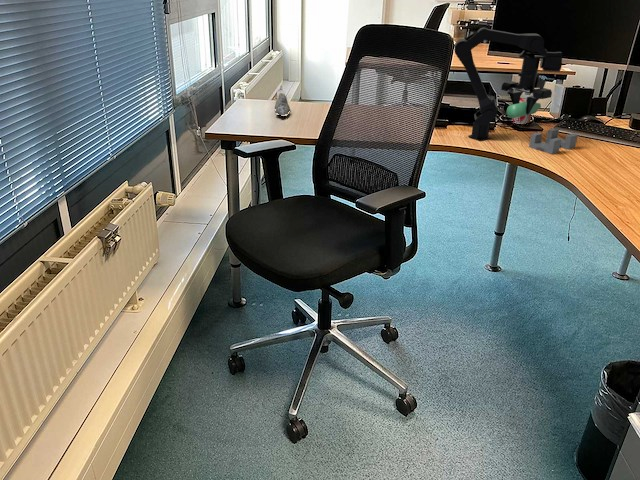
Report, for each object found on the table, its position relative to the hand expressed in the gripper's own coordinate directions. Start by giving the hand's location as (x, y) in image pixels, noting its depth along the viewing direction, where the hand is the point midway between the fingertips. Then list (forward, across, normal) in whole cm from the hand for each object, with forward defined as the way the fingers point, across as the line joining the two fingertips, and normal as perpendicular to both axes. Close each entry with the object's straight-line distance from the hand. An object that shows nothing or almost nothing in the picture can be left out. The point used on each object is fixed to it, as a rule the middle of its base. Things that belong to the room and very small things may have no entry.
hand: (521, 112), depth 203 cm
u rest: (+11, -13, -4) cm, 17 cm away
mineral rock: (+11, +81, +60) cm, 102 cm away
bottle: (+1, 0, -2) cm, 2 cm away
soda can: (+11, +14, -20) cm, 27 cm away
